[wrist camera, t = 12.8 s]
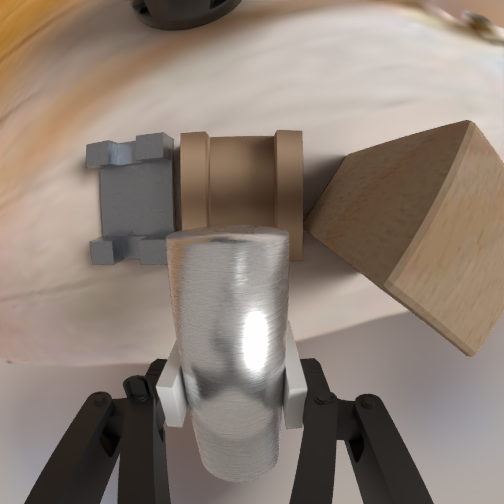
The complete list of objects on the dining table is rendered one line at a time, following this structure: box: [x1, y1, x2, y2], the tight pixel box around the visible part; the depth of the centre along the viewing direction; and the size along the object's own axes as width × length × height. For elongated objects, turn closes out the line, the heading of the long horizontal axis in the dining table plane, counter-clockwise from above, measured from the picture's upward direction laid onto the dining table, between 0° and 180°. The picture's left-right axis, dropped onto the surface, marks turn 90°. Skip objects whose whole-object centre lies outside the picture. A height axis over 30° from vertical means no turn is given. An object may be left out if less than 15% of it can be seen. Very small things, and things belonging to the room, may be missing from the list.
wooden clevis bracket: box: [180, 130, 303, 261], centre depth 28 cm, size 20×11×5 cm, turn 1°
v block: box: [86, 132, 176, 265], centre depth 27 cm, size 13×9×4 cm
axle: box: [166, 225, 289, 482], centre depth 13 cm, size 14×5×5 cm, turn 1°
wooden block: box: [303, 120, 504, 357], centre depth 20 cm, size 10×10×20 cm
